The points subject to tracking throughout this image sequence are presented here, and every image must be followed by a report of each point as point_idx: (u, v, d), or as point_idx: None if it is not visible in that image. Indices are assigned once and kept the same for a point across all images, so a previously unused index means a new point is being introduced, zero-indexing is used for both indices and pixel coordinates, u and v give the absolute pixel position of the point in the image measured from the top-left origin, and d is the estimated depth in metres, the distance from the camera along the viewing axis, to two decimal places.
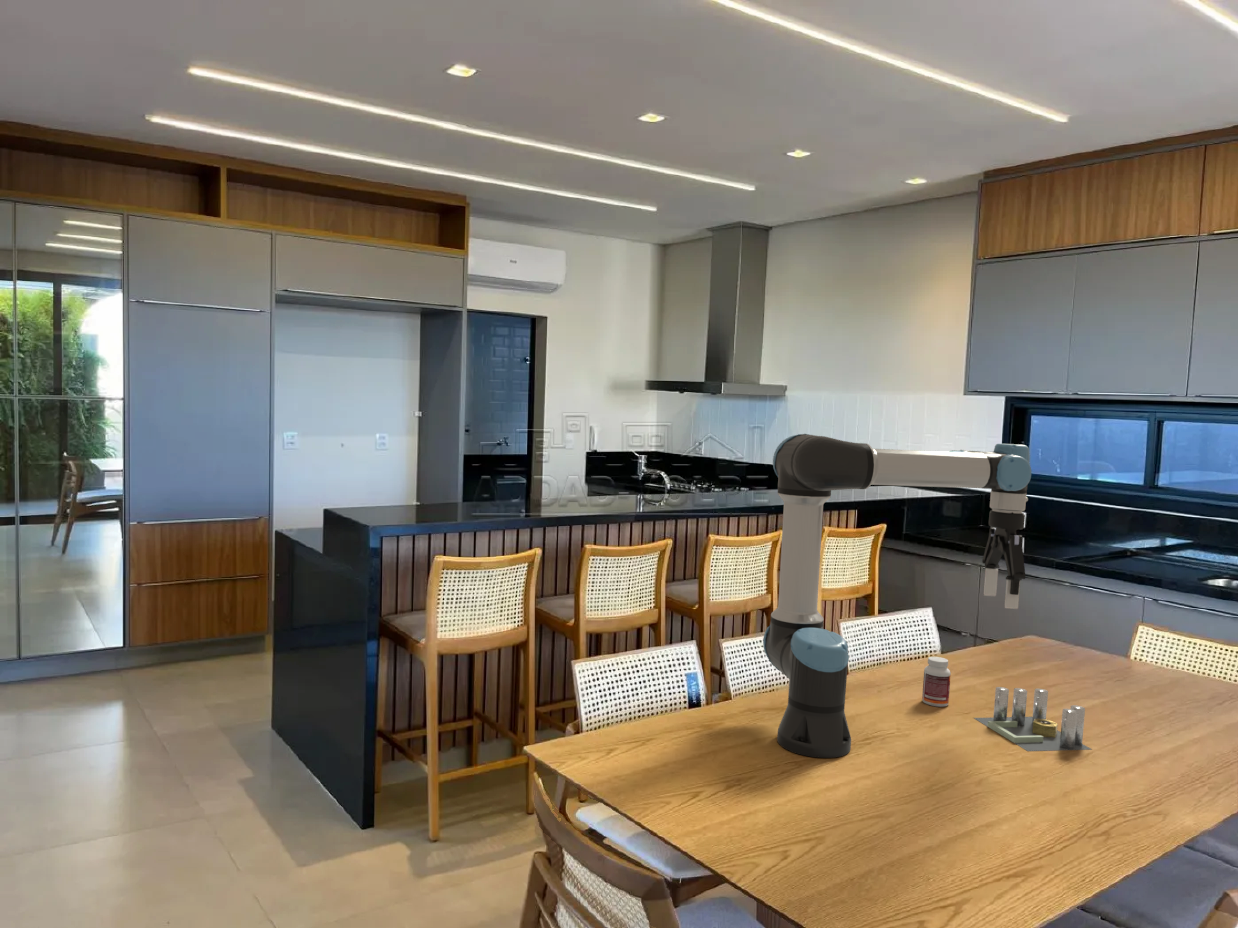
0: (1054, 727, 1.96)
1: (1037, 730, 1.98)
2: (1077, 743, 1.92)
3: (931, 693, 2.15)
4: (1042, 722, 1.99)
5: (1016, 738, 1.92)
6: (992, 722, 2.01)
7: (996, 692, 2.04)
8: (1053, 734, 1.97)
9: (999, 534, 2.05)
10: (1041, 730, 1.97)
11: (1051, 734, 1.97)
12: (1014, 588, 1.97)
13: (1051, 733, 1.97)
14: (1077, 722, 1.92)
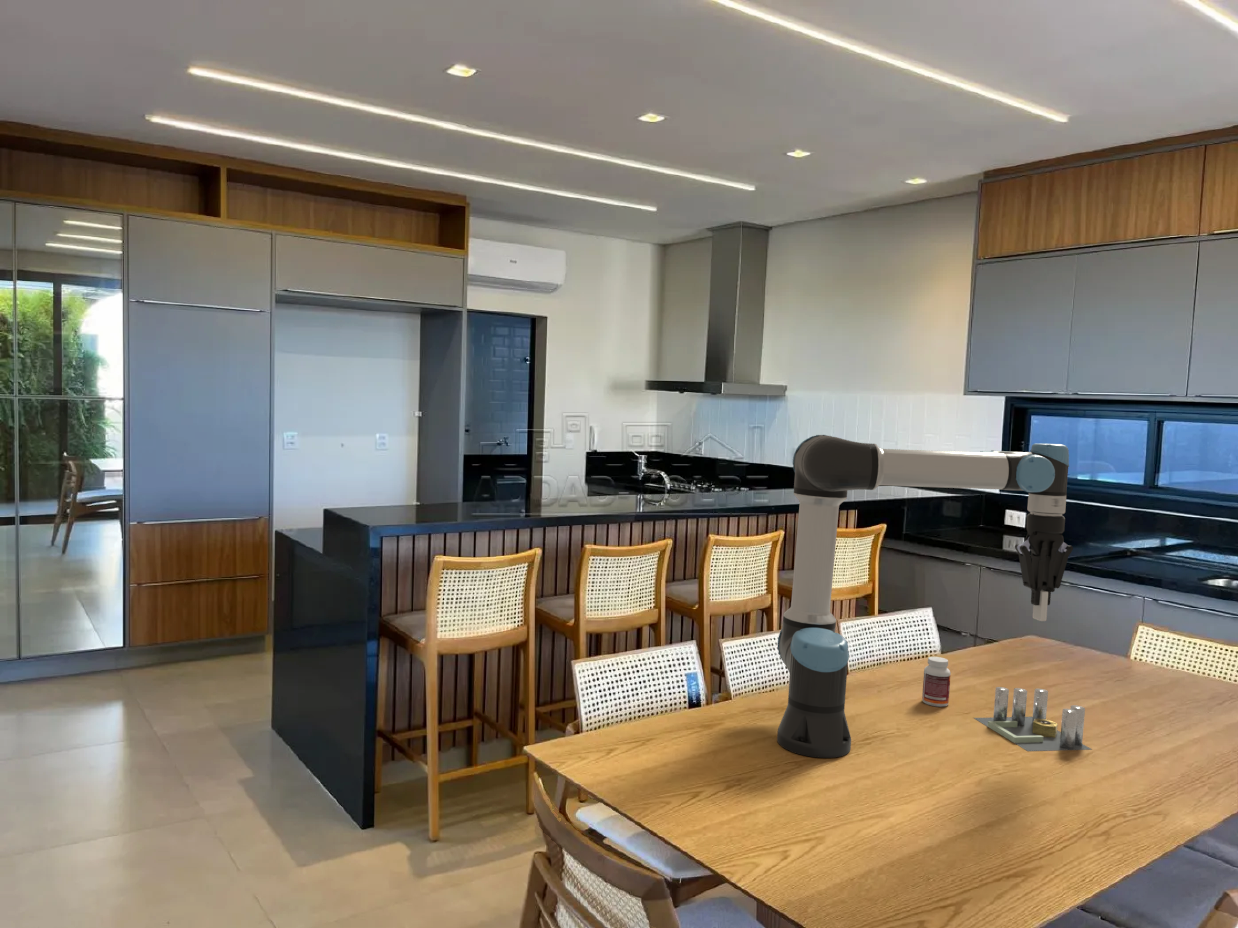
0: (1054, 727, 1.96)
1: (1037, 730, 1.98)
2: (1077, 743, 1.92)
3: (931, 693, 2.15)
4: (1042, 722, 1.99)
5: (1016, 738, 1.92)
6: (992, 722, 2.01)
7: (996, 692, 2.04)
8: (1053, 734, 1.97)
9: None
10: (1041, 730, 1.97)
11: (1051, 734, 1.97)
12: (1032, 598, 1.96)
13: (1051, 733, 1.97)
14: (1077, 722, 1.92)
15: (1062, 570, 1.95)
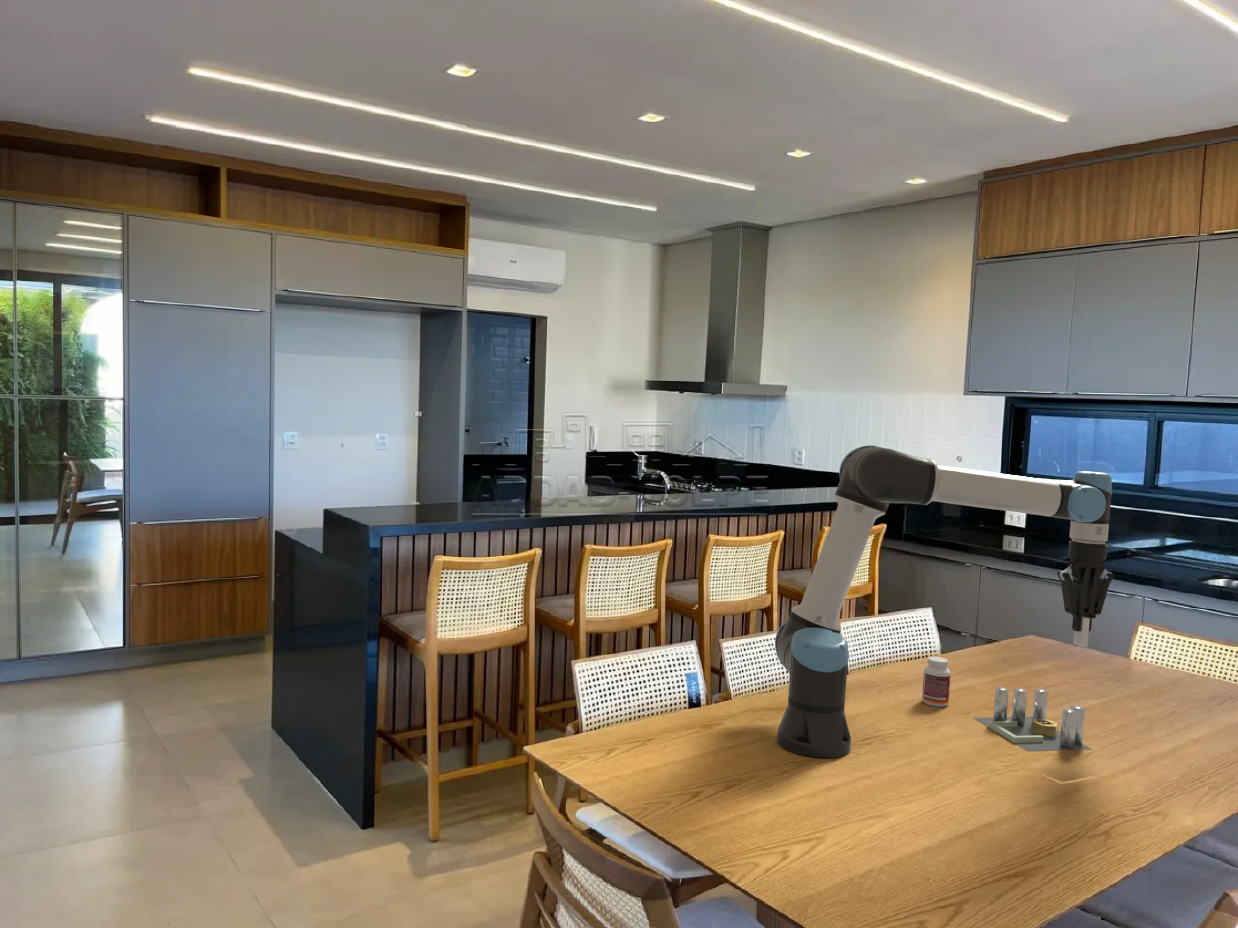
0: (1054, 727, 1.96)
1: (1037, 730, 1.98)
2: (1077, 743, 1.92)
3: (931, 693, 2.15)
4: (1042, 722, 1.99)
5: (1016, 738, 1.92)
6: (992, 722, 2.01)
7: (996, 692, 2.04)
8: (1053, 734, 1.97)
9: None
10: (1041, 730, 1.97)
11: (1051, 734, 1.97)
12: (1074, 624, 1.99)
13: (1051, 733, 1.97)
14: (1077, 722, 1.92)
15: (1103, 597, 1.98)
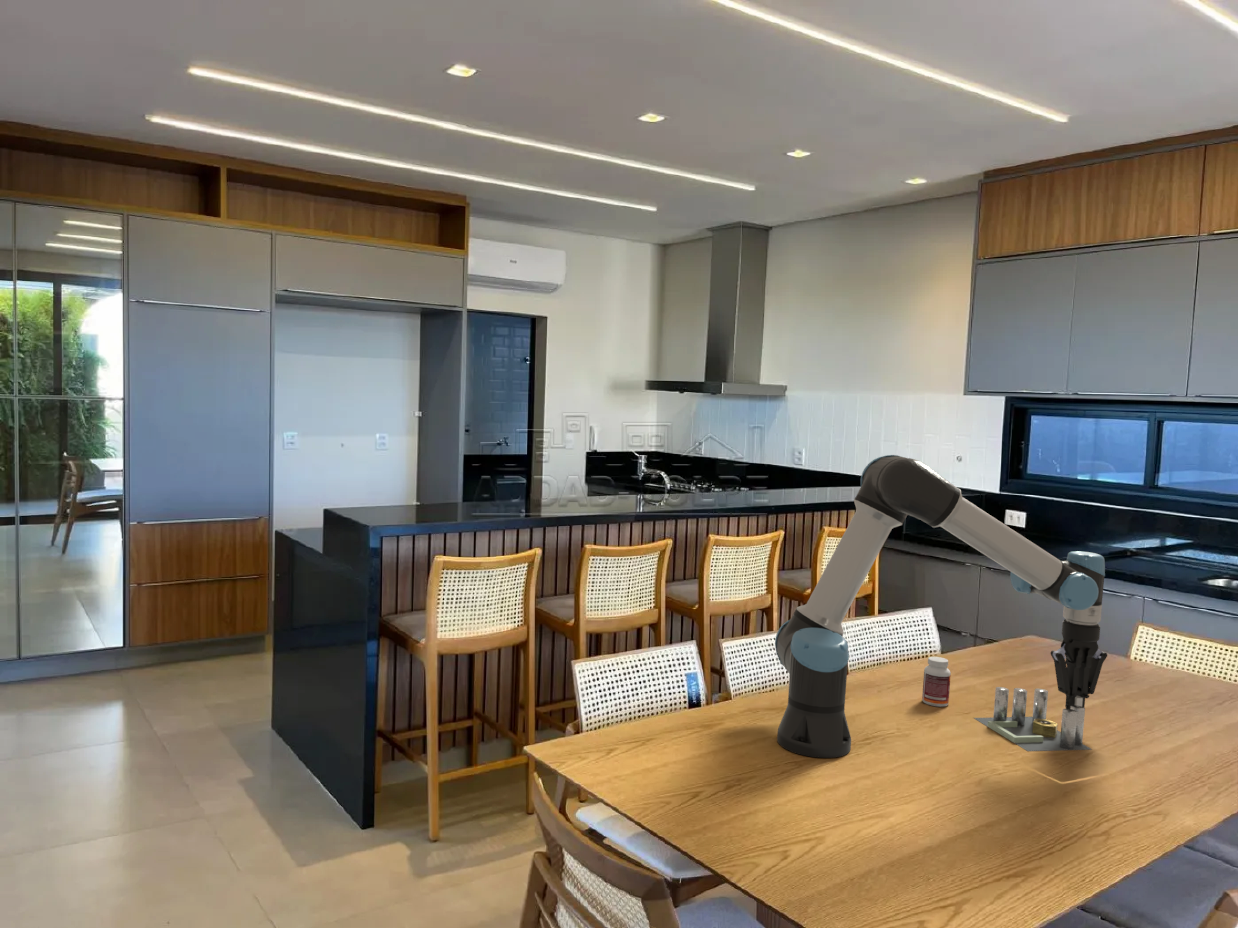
0: (1054, 727, 1.96)
1: (1037, 730, 1.98)
2: (1077, 743, 1.92)
3: (931, 693, 2.15)
4: (1042, 722, 1.99)
5: (1016, 738, 1.92)
6: (992, 722, 2.01)
7: (996, 692, 2.04)
8: (1053, 734, 1.97)
9: None
10: (1041, 730, 1.97)
11: (1051, 734, 1.97)
12: (1067, 703, 2.00)
13: (1051, 733, 1.97)
14: (1077, 722, 1.92)
15: (1096, 676, 1.99)
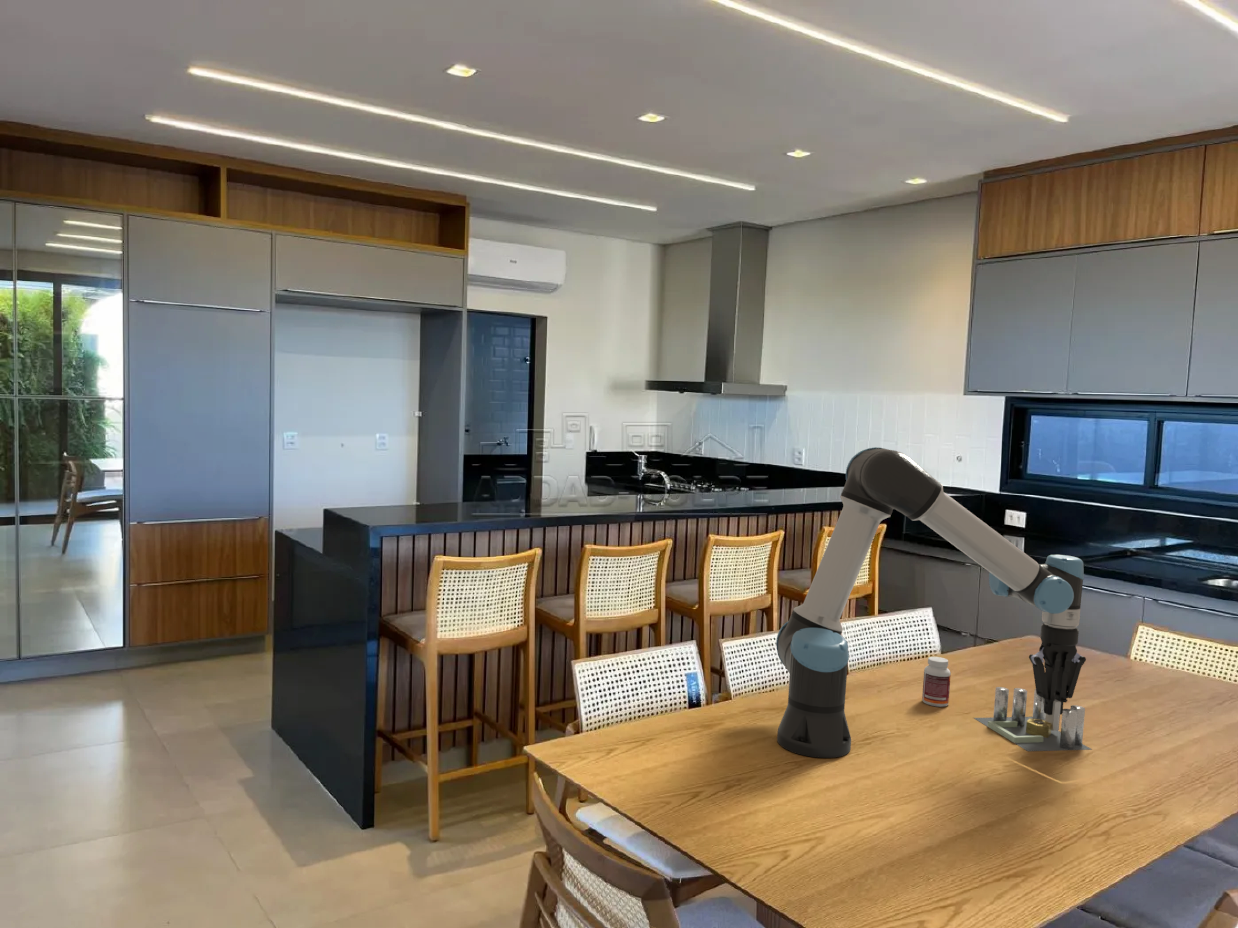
0: (1047, 727, 1.96)
1: (1030, 730, 1.98)
2: (1077, 743, 1.92)
3: (931, 693, 2.15)
4: (1036, 722, 1.98)
5: (1016, 738, 1.92)
6: (992, 722, 2.01)
7: (996, 692, 2.04)
8: (1046, 734, 1.96)
9: None
10: (1034, 730, 1.97)
11: (1044, 734, 1.96)
12: (1045, 707, 1.99)
13: (1044, 733, 1.96)
14: (1077, 722, 1.92)
15: (1075, 680, 1.98)
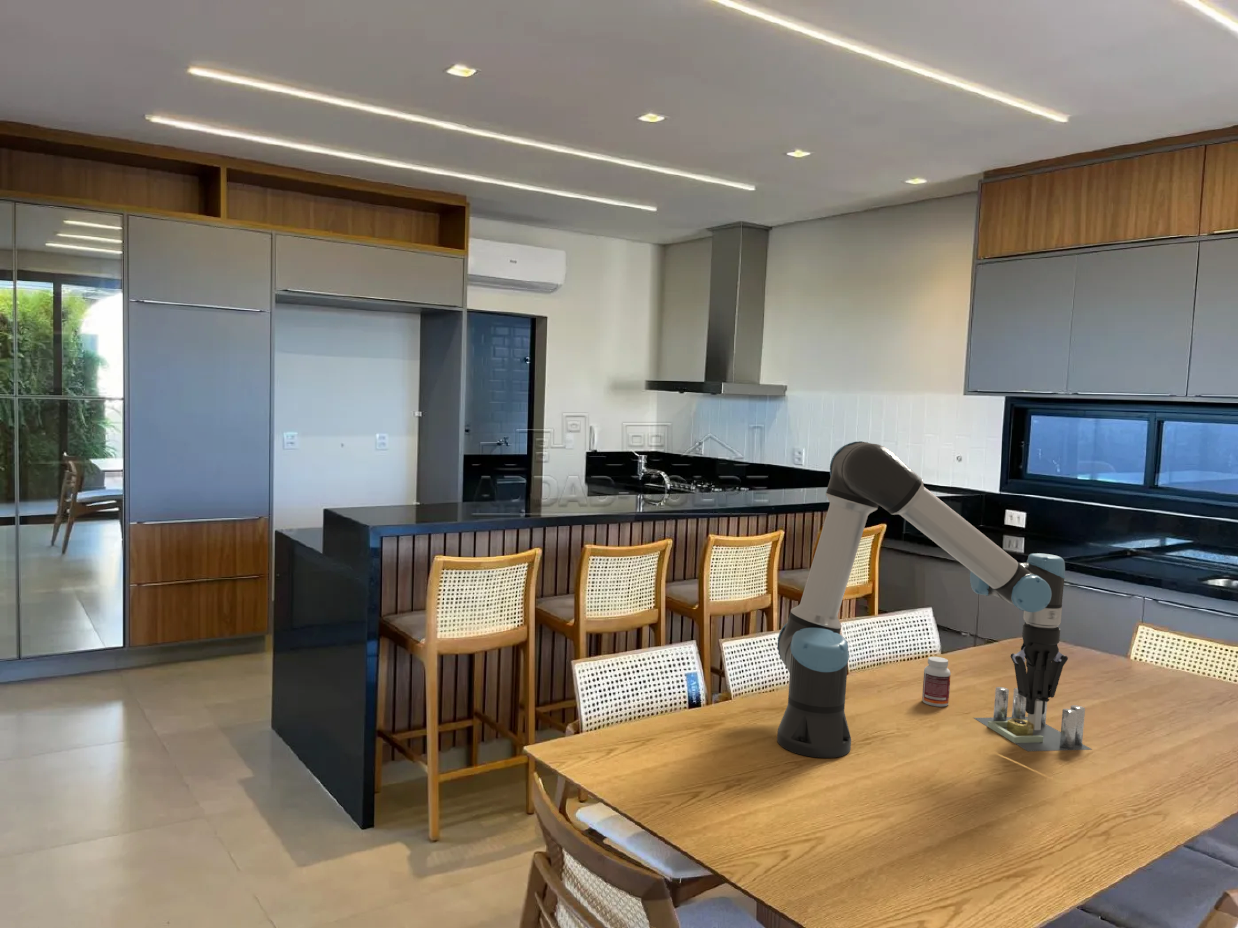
0: (1026, 727, 1.96)
1: (1010, 729, 1.98)
2: (1077, 743, 1.92)
3: (931, 693, 2.15)
4: (1016, 721, 1.98)
5: (1016, 738, 1.92)
6: (992, 722, 2.01)
7: (996, 692, 2.04)
8: (1025, 734, 1.96)
9: None
10: (1013, 729, 1.97)
11: (1023, 734, 1.96)
12: (1027, 706, 1.98)
13: (1023, 733, 1.96)
14: (1077, 722, 1.92)
15: (1057, 680, 1.97)
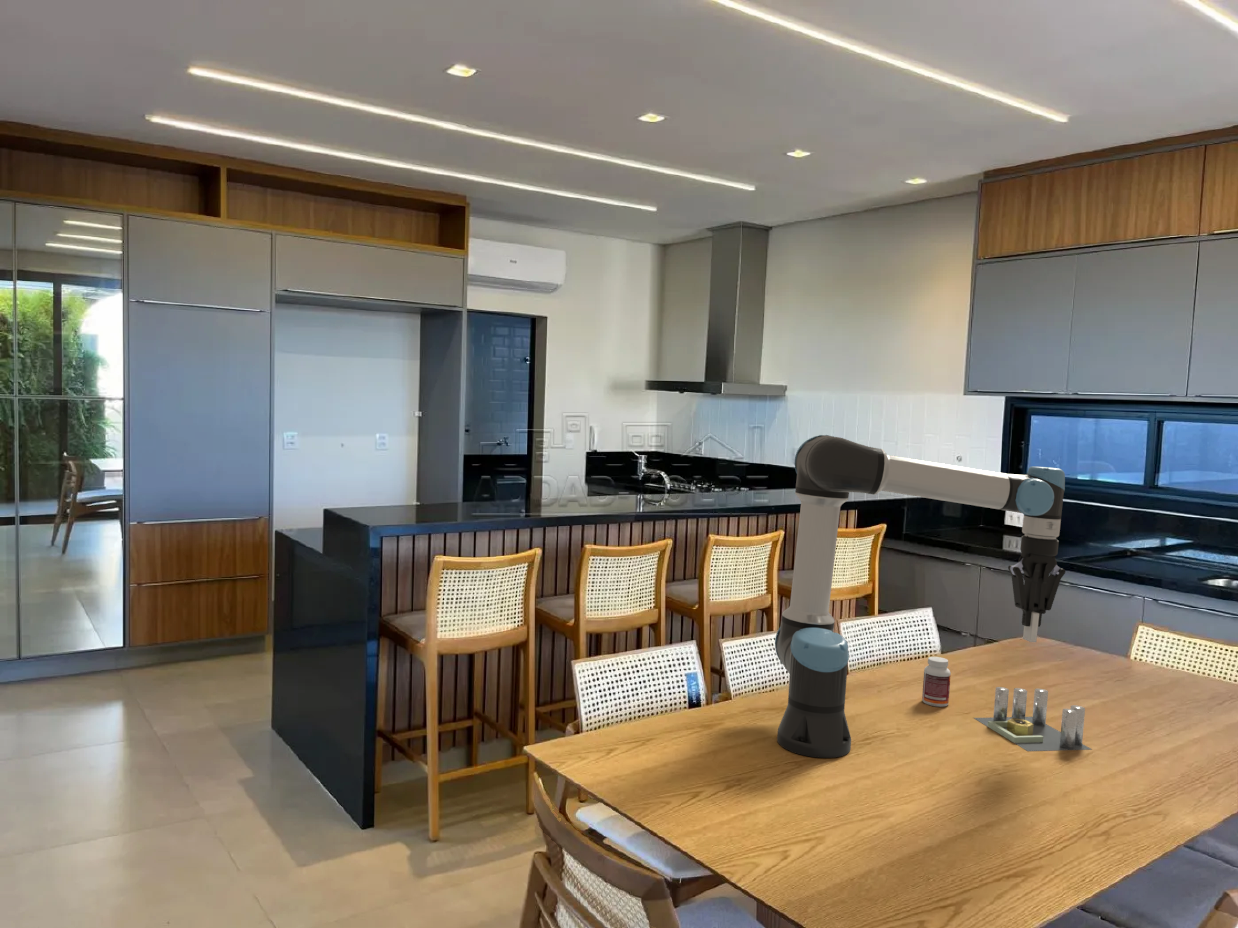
0: (1026, 727, 1.96)
1: (1010, 729, 1.98)
2: (1077, 743, 1.92)
3: (931, 693, 2.15)
4: (1016, 721, 1.98)
5: (1016, 738, 1.92)
6: (992, 722, 2.01)
7: (996, 692, 2.04)
8: (1025, 734, 1.96)
9: None
10: (1013, 729, 1.97)
11: (1023, 734, 1.96)
12: (1023, 619, 1.98)
13: (1023, 733, 1.96)
14: (1077, 722, 1.92)
15: (1054, 592, 1.98)
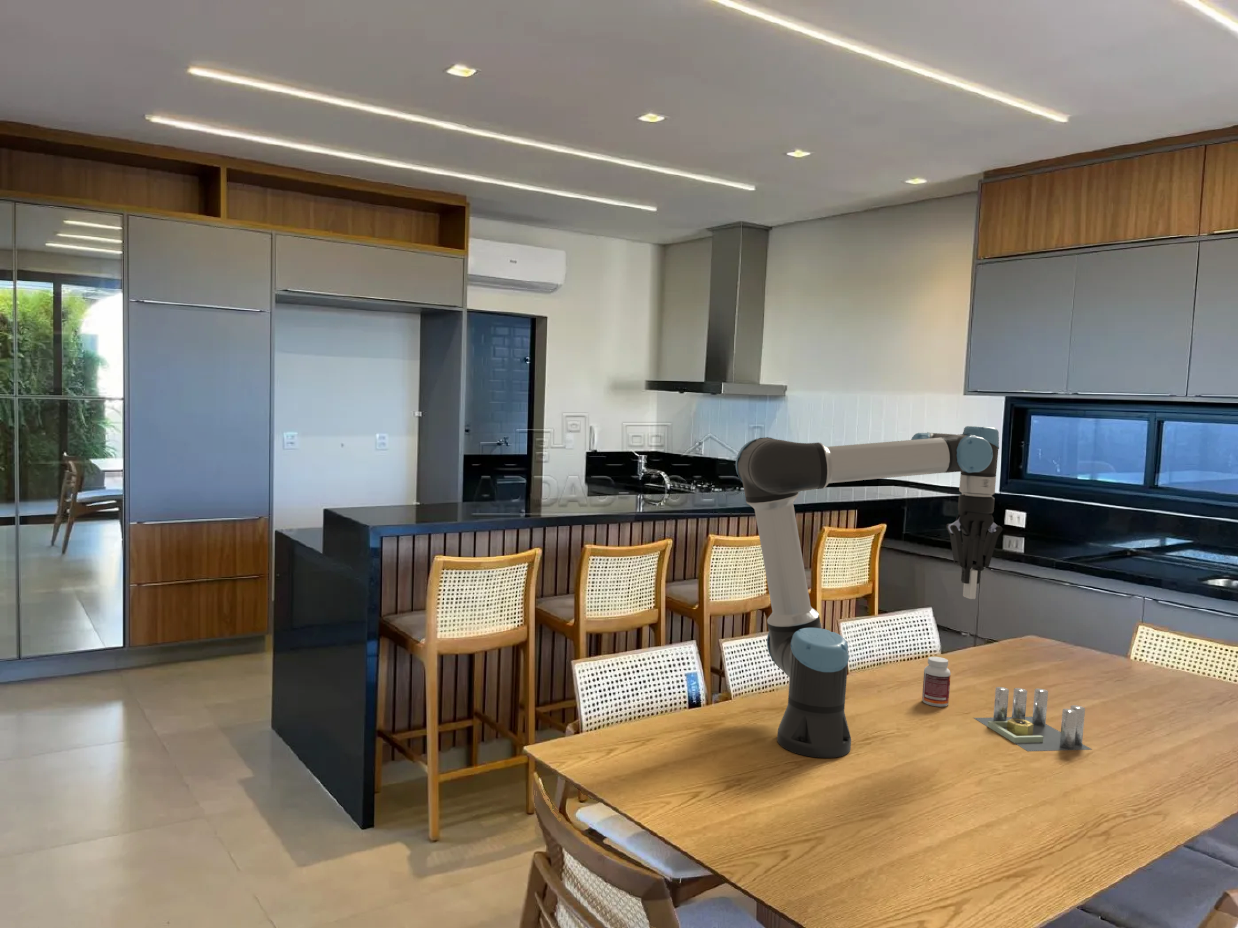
0: (1026, 727, 1.96)
1: (1010, 729, 1.98)
2: (1077, 743, 1.92)
3: (931, 693, 2.15)
4: (1016, 721, 1.98)
5: (1016, 738, 1.92)
6: (992, 722, 2.01)
7: (996, 692, 2.04)
8: (1025, 734, 1.96)
9: None
10: (1013, 729, 1.97)
11: (1023, 734, 1.96)
12: (962, 576, 2.01)
13: (1023, 733, 1.96)
14: (1077, 722, 1.92)
15: (991, 550, 2.01)
